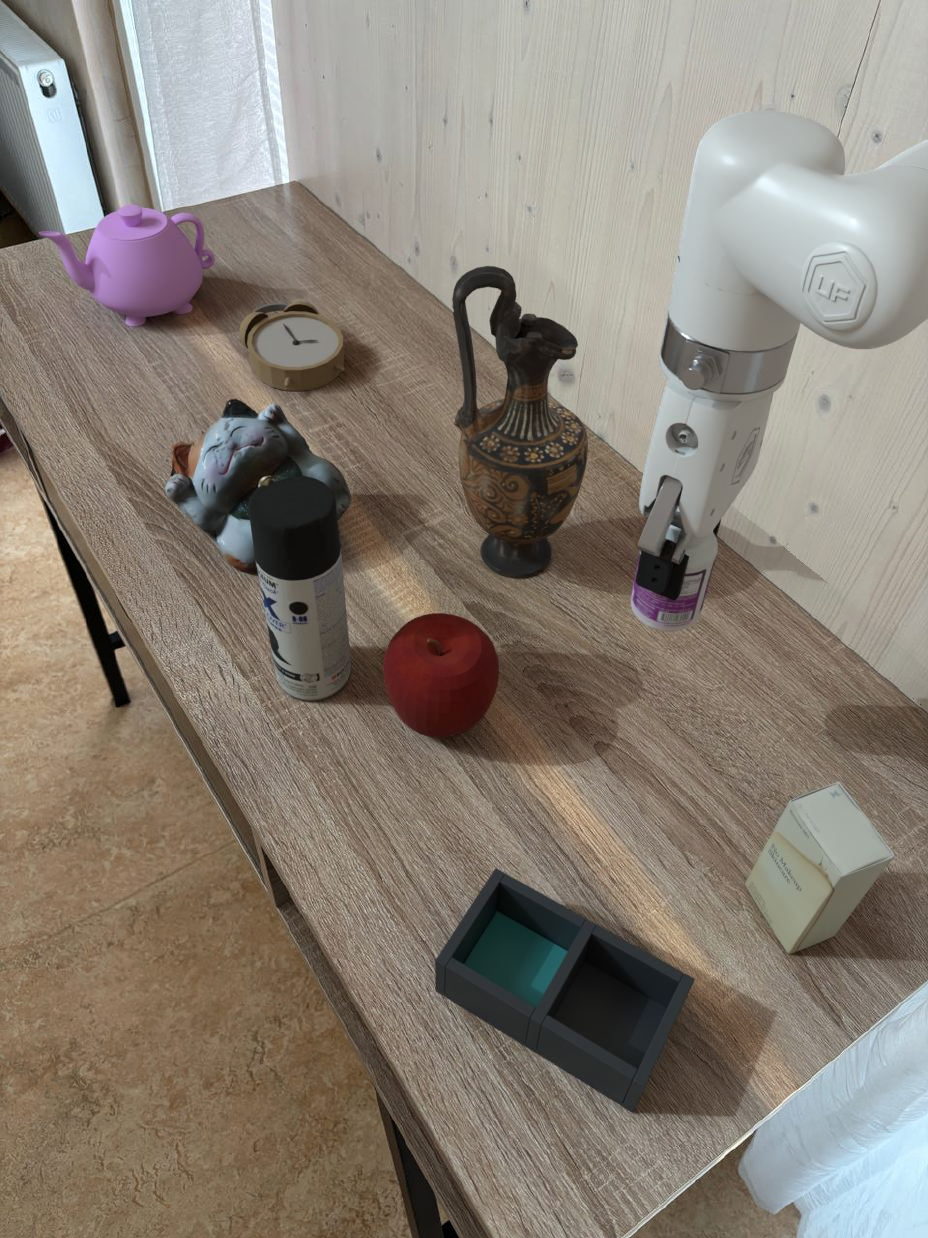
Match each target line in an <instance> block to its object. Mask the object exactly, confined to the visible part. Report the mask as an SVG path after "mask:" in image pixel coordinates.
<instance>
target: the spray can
mask: <svg viewBox="0 0 928 1238" xmlns="http://www.w3.org/2000/svg"><path fill="white" fill-rule="evenodd" d="M248 512H249V519H250V525H251V532H252V539H253V546H254V554H255V559H256V565H257V570H258V574H257V575H258V582H259V586H260V592H261V598H262V599H261V600H262V604H263V609H264V615H265V621H266V627H267V633H268V639H269V644H270V649H271V656H272V662H273V668H274V672H275V676H276V679H277V682H278V684H279V686H280V687H281V689H282V691H283V692H285V693H286V694H287V695H289V696H290V697H292V698H293V699H298V700H300V701H304V702H317V701H322V700H327V699H328V698H331V697H333V696H335V695H336V694H338V693H339V692H340V691H341V690H343V688H344V687H345V686H346V684H347V683H348V680H349V679H350V674H351V670H352V662H351V661H352V660H351V649H350V638H349V626H348V614H347V602H346V591H345V581H344V567H343V556H342V543H341V533H340V527H339V520H338V515H337V506H336V499H335V495H334V493H333V491H332V490H331V489H330V488H329V487H328V486H327V485H326V484H325V483H324V482H322V481H320V480H317V479H315V478H312V477H307V476H304V475H302V476H299V477H297V478H286V479H281V480H278V481H275V482H272V483H270V484H268V485H262V486H260V487H259V488H258V489H257V490H256V491H254V493H253V495H252V496H251V498H250V501H249V503H248Z"/></svg>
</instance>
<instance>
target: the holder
mask: <svg viewBox="0 0 928 1238" xmlns="http://www.w3.org/2000/svg"><path fill="white" fill-rule="evenodd" d="M434 963H435V965H434V966H435V967H434V969H435V970H434V971H435V972H434V973H435V975H434V976H435V979H434V980H435V983H434V984H435V985H434V987H435V988H434V990H435V992H436V993H438V994H440V995H441V996H443V997H444V998H445V999H448V1001H451V1002H452V1003H454V1004H455V1005H457V1006H459V1007H460V1008H462V1009H464V1010H465V1011H466V1012H469V1013H470V1014H472V1015H473V1016H475V1017H477V1018H478V1019H479V1020H481V1021H483V1022H484V1023H487V1024H488V1025H490V1026H492V1027H493V1028H494V1029H496V1030H498V1031H499V1032H501V1033H503V1034H504V1035H506V1037H509V1038H511V1039H512V1040H513V1041H515V1042H517V1043H518V1044H520V1045H522V1046H524V1047H525V1048H526V1049H528V1050H530V1051H532V1052H533V1053H535V1054H537V1055H538V1056H540V1057H542V1058H543V1059H544V1060H546V1061H548V1062H549V1063H551V1064H552V1065H554V1066H556V1067H558V1068H559V1069H561V1070H563V1071H564V1072H566V1073H567V1074H569V1075H570V1076H573V1078H575V1079H577V1080H578V1081H580V1082H582V1083H584V1084H586V1085H587V1086H589V1087H590V1088H592V1089H593V1090H595V1091H596V1092H597V1093H599V1094H601V1095H603V1096H605V1097H606V1098H608V1099H610V1100H611V1101H613V1102H614V1103H616V1104H618V1105H619V1106H621V1107H622V1108H624V1109H625V1110H627V1111H629V1112H631V1113H632V1114H633V1113H634V1111H635V1109H636V1107H637V1105H638V1103H639V1101H640V1098H641V1096H642V1094H643V1092H644V1089H645V1087H646V1086H647V1084H648V1081H649V1079H650V1077H651V1075H652V1073H653V1070H654V1068H655V1066H656V1064H657V1063H658V1060H659V1057H660V1056H661V1053H662V1051H663V1050H664V1047H665V1044H666V1042H667V1040H668V1039H669V1037H670V1035H671V1032H672V1030H673V1027H674V1025H675V1023H676V1021H677V1019H678V1017H679V1014H680V1012H681V1011H682V1008H683V1006H684V1004H685V1002H686V999H687V998H688V996H689V993H690V991H691V989H692V987H693V984H694V983H695V980H696V979H695V978H694V977H693V976H690V975H689V974H688V973H684V971H682V970H680V969H678V968H677V967H675V966H673V965H671V964H670V963H667V962H666V961H664V960H662V959H661V958H659V957H657V956H655V955H653V954H652V953H649V952H648V951H646V950H644V949H642V948H641V947H639V946H637V945H635V944H634V943H631V942H630V941H628V940H627V939H625V938H623V937H621V936H619V935H617V934H615V933H614V932H612V931H610V930H608V929H607V928H604V927H603V926H601V925H599V924H597V923H596V922H594V921H592V920H590V919H589V918H586V917H585V916H583V915H581V914H579V913H577V912H576V911H574V910H572V909H570V908H569V907H566V906H565V905H563V904H562V903H559V902H558V901H556V900H555V899H552V898H551V897H549V896H547V895H545V894H543V893H541V892H540V891H538V890H536V889H534V888H532V887H531V886H529V885H527V884H525V883H523V882H521V881H519V880H518V879H516V878H514V877H512V876H511V875H510V874H507V873H505V872H504V871H502V870H500V869H498V868H494V870H493V871H492V873H491V874H490V876H489V877H488V879H487V881H486V882H485V883H484V885H483V887H482V888H481V890H480V891H479V893H478V894H477V895H476V897H475V899H474V900H473V902H472V903H471V905H470V907H469V908H468V910H467V911H466V912H465V914H464V916H463V917H462V919H461V920H460V922H459V923H458V925H457V926H456V927H455V929H454V931H453V932H452V934H451V936H449V939H448V940H447V942H446V943H445V945H444V946H443V948H442V949H441V951H440V952H439V954H438V956H437V957H436V958H435V961H434Z"/></svg>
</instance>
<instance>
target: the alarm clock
mask: <svg viewBox="0 0 928 1238" xmlns="http://www.w3.org/2000/svg"><path fill="white" fill-rule="evenodd" d="M271 312H277V313H275V314H272V315H268V314H267V313H271ZM238 334H239V340H240V342H241V344H242V345H243V347H244V348H245V349H247V350H248V357H249V358H248V359H249V366H250V369H251V371H252V374H253V375H254V377H256V378H257V379H258V380H259V381H260V382H261V383H263V384H265V385H267V386H269V387H271V388H273V389H279V390H282V391H286V392H287V391H288V392H303V391H310V390H315V389H319V388H321V387H323V386H325V385H328V384H330V383H331V382H332V381H334V380H335V379H336V378H337V377H339V375H340V374H341V372H345V371H346V368H345V367H344V365H345V354H344V335H343V333H342V330H341V328H340V327H339V326H338V325H337V324H336V323H335V322H334V321H333V320H331V319H329V318H327V317H325V316H323V315H321V314H320V313H319V311H318V309H317V308H316V307H315V306H314V305H313V304H311V303H309V302H308V301H303V300H297V301H294V302H290V303H289V304H288V303H284V302H283V303H282V302H276V303H268V304H267V303H266V304H264V305H262V306H259V307H257V308H255V309H253V311H252V312H251V313H249V314H247V316H245V317H244V318H243V320H242V321H241V323H240V326H239V333H238Z"/></svg>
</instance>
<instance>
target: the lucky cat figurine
mask: <svg viewBox="0 0 928 1238" xmlns="http://www.w3.org/2000/svg"><path fill="white" fill-rule="evenodd" d="M170 453H171V455H172V459H171V472H170V474H169V478H168V481H167V482H166V484H165V486H164V491H165V495H166V496H167V497H168V499H169V500H170V501H171V502H172V503H174V505H176V506H177V507H178V509H179V510H180V511H181V513H183V515H185V516H186V517H187V518H189V519H190V520H191V521H192V522H193V523H194V524H195V525H196V526H197V527H198V529H200V530H201V531H203V533H204V534H206V535H207V536H208V537H209V539H211V540H212V541H213V542H214V543H215V545H216V546H217V547H218V548H219V550H220V551H221V552H222V554H223V557H224V558H225V560H226V561H227V562H228V563H229V564H230V565H231V567H233V568H234V569H236V570H237V571H241V572H245V573H250V574H255V575H258V570H257V565H256V559H255V554H254V546H253V539H252V532H251V525H250V519H249V512H248V503H249V501H250V498H251V496H252V495H253V493H254V491H256V490H257V489H258V488H259V487H260V486H262V485H268V484H270V483H272V482H275V481H278V480H281V479H286V478H297V477H299V476H302V475H304V476H307V477H312V478H315V479H317V480H320V481H322V482H324V483H325V484H326V485H327V486H328V487H329V488H330V489H331V490H332V491H333V493H334V495H335V499H336V506H337V515H338V521H339V520H340V519H341V518H342V517H343V516H344V514H346V512H347V510H348V509H349V508H350V506H351V502H352V496H351V490H350V488H349V485H348V483H347V481H346V479H345V477H344V475H343V473H342V471H341V470H340V469H339V468H338V467H337V466H336V465H335V464H334V463H333V462H331V461H330V460H328V459H327V458H324V457H322V456H319V455H317V454H315V453H313V451H312V450H311V449H310V445H309V444H308V443H307V440H306V438H305V437H304V436H302V434H301V432H299V431H298V429H297V428H295V427H294V426H293V424H292V423H291V422H290V421H289V419H288V418H287V416H286V415H285V413H284V410H283V409H282V407H281V405H279V404H278V403H271V404H268V405H267V406H266V407H265V408H264V409H263V410H261V412H257V411H256V410H255V409H253V408H252V407H250V406H249V405H247V403H246V402H243V401H242V400H240V399H237V398H230V399H228V400H226V402H225V406H224V408H223V411H222V413H221V414H220V417H219V419H218V420H216V421H214V422H213V423H211V425H209V427H208V428H207V430H206V431H205V432H204V433H202V435H201V436H200V437H199V439H198V441H197V442H196V443H195V441H190V442H189V441H188V442H185V441H179V442H176V443H174V445H172V446H171V449H170Z"/></svg>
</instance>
